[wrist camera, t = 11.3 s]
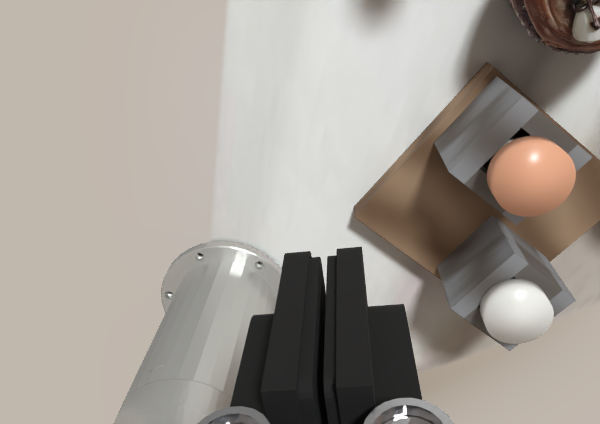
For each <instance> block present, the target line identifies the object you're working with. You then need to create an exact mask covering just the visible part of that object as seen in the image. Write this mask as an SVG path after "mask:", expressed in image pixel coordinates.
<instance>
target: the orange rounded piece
mask: <svg viewBox="0 0 600 424" xmlns="http://www.w3.org/2000/svg"><path fill="white" fill-rule="evenodd" d="M489 162H490V164H489V167H488V170H487V183H488V186H489V189H490V191H491V193H492V194H493V196H494V197H495V199H496V200H497V202H498V203H499V205H500V206H501V207H502V208H503V209H505V210H506V211H507V212H509V213H511V214H514V215H517V216H523V217H532V216H538V215H542V214H545V213H548V212H550V211H552V210H553V209H555V208H556V207H558V206H559V205H560V204H562V203H563V202H564V201H565V199H566V198H567V197H568V196H569V194H570V193H571V191H572V189H573V187H574V183H575V179H576V170H575V165H574V163H573V161H572V159H571V157H570V156H569V155H568V154H567V153H566V152H565V151H564V150H563V149H562V148H560V147H559V146H558V145H557V144H556V143H554V142H553V141H551V140H550V139H547V138H545V137H540V136H525V137H524V136H523V135H522V134H521V133H519V132H518V131H517V132H516V133H515V134H514V135H513V136H512V137H511V138H510V139H509V140H508V141H507V142H506V143H505V144H504V145H503V146H502V147H501V148H500V149H499V150H498V151H497V152H496V153H495V154H494V155H493V156H492V157H491V158H490V159H489Z"/></svg>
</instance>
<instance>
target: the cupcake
mask: <svg viewBox="0 0 600 424" xmlns="http://www.w3.org/2000/svg"><path fill="white" fill-rule="evenodd" d="M509 1H510V2H511V6H512V8H513V10H514V13H515V14H516V16H517V17H518V18H519V20H520V21H521V23H522V25H523V26H525V27H526V30H527V32H528V34H529V36H533V37H534V38H535V39H536V40H537V42H538V43H539V42H541V43H543V46H544V47H547V46H550V47H551V48H552V50H554V51H563V52H564V53H565V54H567V53H573V54H574V55H578V54H579V53H583V54H584V55H587V54H591V53H594V52H597V51H600V0H509Z"/></svg>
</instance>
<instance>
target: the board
mask: <svg viewBox="0 0 600 424" xmlns="http://www.w3.org/2000/svg"><path fill="white" fill-rule="evenodd" d="M517 131H518V132H519V133H521V134H522V135H523V136H524V137H525V136H540V137H545V138H547V139H550V140H551V141H553V142H554V143H556V144H557V145H558V146H559V147H560V148H562V149H563V150H564V151H565V152H566V153H567V154H568V155H569V156H570V157H571V159H572V161H573V163H574V165H575V170H576V179H575V183H574V187H573V189H572V191H571V193H570V194H569V196H568V197H567V198H566V199H565V201H564V202H563V203H562V204H560V205H559V206H558V207H556V208H555V209H553V210H552V211H550V212H548V213H545V214H542V215H538V216H532V217H523V216H517V215H514V214H511V213H509V212H507V211H506V210H505V209H503V208H502V207H501V206H500V205H499V203H498V202H497V200H496V199H495V197H494V196H493V194H492V193H491V191H490V189H489V186H488V183H487V170H488V167H489V164H490V162H489V159H490V158H491V157H492V156H493V155H494V154H495V153H496V152H497V151H498V150H499V149H500V148H501V147H502V146H503V145H504V144H505V143H506V142H507V141H508V140H509V139H510V138H511V137H512V136H513V135H514V134H515V133H516V132H517ZM354 213H355V218H356V219H358V220H359V221H361V222H362V223H363V224H365V225H366V226H367V227H369V228H370V229H372V230H373V231H374V232H376V233H377V234H379V235H380V236H381V237H383V238H384V239H385V240H387V241H388V242H390V243H391V244H392V245H394V246H395V247H396V248H398V249H399V250H401V251H402V252H403V253H405V254H406V255H408V256H409V257H410V258H412V259H413V260H414V261H416V262H417V263H419V264H420V265H421V266H423V267H424V268H426V269H427V270H428V271H430V272H431V273H432V274H434V275H435V276H437V277H438V278H439V279H441V280H442V283H443V287H444V290H445V293H446V296H447V299H448V302H449V306H450V309H451V310H453V311H454V312H456V313H457V314H458V315H460V316H461V317H463V318H464V319H465V320H467V321H468V322H470V323H471V324H472V325H474V326H475V327H477V328H478V329H480V330H481V331H482V332H484V333H485V334H487V335H488V336H489V337H491V338H492V339H494V340H495V341H496V342H498V343H499V344H501V345H502V346H503V347H505V348H506V349H508V350H509V351H510V350H512V349H513V348H514V347H515V346H517V345H518V344H509V343H504V342H501V341H499V340H497V339H495V338H494V337H492V336H491V335H490V334H489V332H488V331H487V329H486V327H485V324H484V322H483V319H482V316H481V314H480V302H481V299H482V297H483V296H484V294H485V293H486V292H487V291H488V290H489V289H490V288H491V287H492V286H494V285H495V284H497V283H499V282H502V281H505V280H509V279H511V278H512V277H515V278H517V279H525V280H529V281H532V282H534V283H536V284H537V285H538V286H540V287H541V289H542V290H543V291H544V293H545V295H546V296H547V298H548V300H549V301H550V303H551V305H552V307H553V311H554V317H555V316H556V315H557V314H558V313H560V312H561V311H562V310H564V309H565V308H566V307H568V306H569V305H570V304H571V303H573V302H574V301H575V298H574V297H573V296H572V294H571V293H570V291H569V290H568V288H567V287H566V285H565V284H564V282H563V281H562V279H561V278H560V277H559V275H558V274H557V272H556V271H555V269H554V268H553V266H552V265H551V263H550V261H551V260H553V259H554V258H555V257H556V256H557V255H559V254H560V253H561V252H562V251H563V250H565V249H566V248H567V247H568V246H569V245H571V244H572V243H573V242H574V241H575V240H577V239H578V238H579V237H580V236H582V235H583V234H584V233H585V232H586V231H588V230H589V229H590V228H591V227H592V226H594V225H595V224H596V223H597V222H598V221H600V160H599V159H598V158H597V157H595V156H594V155H593V154H592V153H591V152H590V151H589V150H587V149H586V148H585V147H584V146H583V145H582V144H581V143H579V142H578V141H577V140H576V139H575V138H574V137H573V136H572V135H570V134H569V133H568V132H567V131H566V130H565V129H564V128H562V127H561V126H560V125H559V124H558V123H557V122H556V121H554V120H553V119H552V118H551V117H550V116H549V115H548V114H546V113H545V112H544V111H543V110H542V109H541V108H540V107H538V106H537V105H536V104H535V103H534V102H533V101H532V100H530V99H529V98H528V97H527V96H526V95H525V94H524V93H522V92H521V91H520V90H519V89H518V88H517V87H516V86H514V85H513V84H512V83H511V82H510V81H509V80H508V79H507V78H505V77H504V76H503V75H502V74H501V73H500V72H499V71H497V70H496V69H495V68H494V67H493V66H491V65H490V64H489V63H486V64H485V65H484V66H483V67H482V68H481V69H480V70H479V71H478V73H477V74H476V75H475V76H474V77H473V78H472V79H471V80H470V81H469V82H468V83H467V84H466V86H465V87H464V88H463V89H462V90H461V91H460V92H459V93H458V94H457V95H456V96H455V98H454V99H453V100H452V101H451V102H450V103H449V104H448V105H447V106H446V107H445V108H444V110H443V111H442V112H441V113H440V114H439V115H438V116H437V117H436V118H435V119H434V120H433V121H432V123H431V124H430V125H429V126H428V127H427V128H426V129H425V130H424V131H423V132H422V133H421V135H420V136H419V137H418V138H417V139H416V140H415V141H414V142H413V143H412V144H411V145H410V146H409V148H408V149H407V150H406V151H405V152H404V153H403V154H402V155H401V156H400V157H399V158H398V160H397V161H396V162H395V163H394V164H393V165H392V166H391V167H390V168H389V169H388V170H387V172H386V173H385V174H384V175H383V176H382V177H381V178H380V179H379V180H378V181H377V182H376V183H375V185H374V186H373V187H372V188H371V189H370V190H369V191H368V192H367V193H366V194H365V195H364V197H363V198H362V199H361V200H360V201H359V202H358V203H357V204H356V205H355V206H354Z"/></svg>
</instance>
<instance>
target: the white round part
mask: <svg viewBox="0 0 600 424" xmlns="http://www.w3.org/2000/svg"><path fill="white" fill-rule="evenodd" d="M480 314H481V316H482V319H483V322H484V324H485V327H486V329H487V331H488V332H489V334H490V335H491V336H492V337H494V338H495V339H497V340H499V341H501V342H504V343H509V344H520V343H526V342H529V341H532V340H534V339H536V338H538V337H539V336H541V335H542V334H543V333H545V332H546V331H547V329H548V328H549V327H550V325H551V323H552V321H553V317H554V311H553V307H552V305H551V303H550V301H549V300H548V298H547V296H546V295H545V293H544V291H543V290H542V289H541V287H540V286H538V285H537V284H536V283H534V282H532V281H529V280H525V279H517V278H515V277H512V278H511V279H509V280H505V281H502V282H499V283H497V284H495V285H494V286H492V287H491V288H490V289H489V290H488V291H487V292H486V293H485V294H484V296H483V297H482V299H481V302H480Z"/></svg>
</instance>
